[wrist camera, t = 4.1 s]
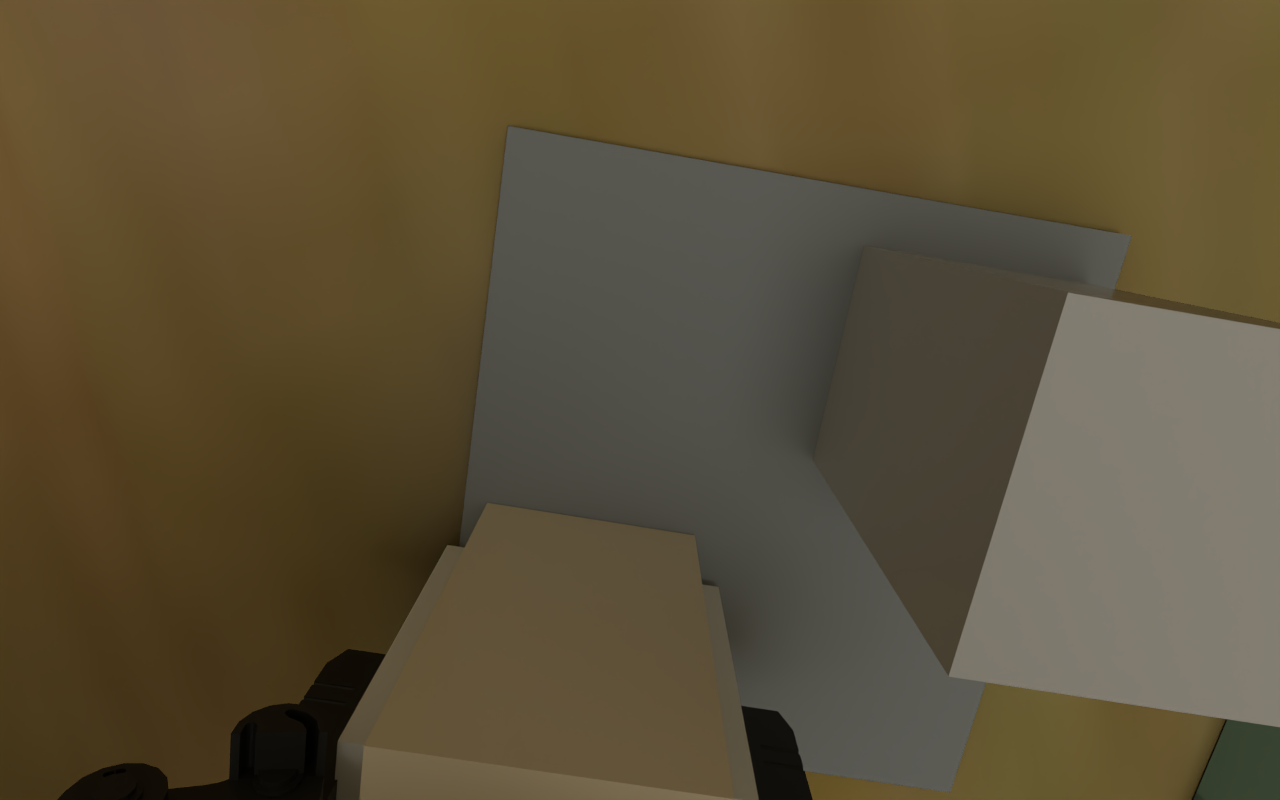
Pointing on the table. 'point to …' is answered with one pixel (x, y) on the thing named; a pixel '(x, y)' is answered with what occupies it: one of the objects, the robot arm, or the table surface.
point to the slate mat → (728, 409)
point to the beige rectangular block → (558, 672)
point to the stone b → (1066, 481)
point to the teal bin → (1243, 764)
